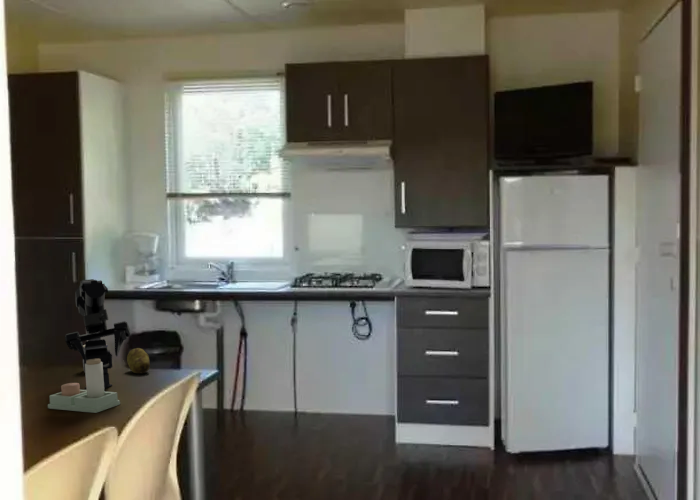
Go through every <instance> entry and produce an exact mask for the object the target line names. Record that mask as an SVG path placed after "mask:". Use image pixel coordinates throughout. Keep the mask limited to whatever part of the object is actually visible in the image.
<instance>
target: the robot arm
mask: <svg viewBox="0 0 700 500" xmlns="http://www.w3.org/2000/svg"><path fill="white" fill-rule="evenodd" d="M74 292H75V306H76V308H77V309H78V314H80V315H81V316H82V317H83V323H84V326H85V330H86V334H85V333H84V334H80V333H79V331H74V332H70V333H69V332H68V333H66V334H65V336H64V339H65V340H64V341H65V343H66V346H67V347H68V349H69V350H73V351H74V352H76V351H78V353H79V354H80V356H81V357H82V367H83V368H82V369H83V372H84V373H85V363H86V360H89V359H101V362H102V363H103V377H104V389H106V388H109V387H112V386H113V384H112V383H110V374H109V371H108V369H109V370H110V369H112V368H113V354H112V353H111V351H110V350H109V349H108V346H107V345H108V343H106V342H107V341H106V340H105V339H104V337H109V336H113V337H114V354H115V357H118V356H119V353H120V350H121V347H122V345H123V343H124V341H126V340H127V339H128V338H129V337H130V336H131V335H132V334H131V329H130V327H129V324H128V322H127V321H125V320H124V321H120V322H115V323H113V328H108V326H107V325H108V324H107V321H108V320H109V316H108V310H107V308H106V309H105V300H106V299H105V295H107V293H109V289H108V287H107V286H106V284H105V283H103V281H102V280H97V279H94V278H93V279H82V280H80V285H79V286H78V288H77V289H76V290H75V291H74ZM101 338H103V339H101ZM83 342H85V343H84V345H85V350H84V347H83ZM107 364H108V365H107ZM83 390H87V388H86V386H84V389H83Z"/></svg>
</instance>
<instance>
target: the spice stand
mask: <svg viewBox="0 0 700 500" xmlns="http://www.w3.org/2000/svg"><path fill="white" fill-rule="evenodd" d="M60 387H61V391H60V392H57V393H54V394H50V395H49V403H48V404H47V409H51V410H63V411H73V412H81V413H82V412H83V413H92V414H93V413H95V414H96V413H99V412H103V411H105V410H107V409H111V408H114V407H116V406H119V405H121V400H119V398H118V392H114V391H105V396H102V397H99V398H87V389H81V387H80V383H79V382H69V383H64V384H62V385H61V386H60Z"/></svg>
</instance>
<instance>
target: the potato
mask: <svg viewBox="0 0 700 500" xmlns="http://www.w3.org/2000/svg"><path fill="white" fill-rule="evenodd" d="M126 362H127V365H128V367H129V370H130V371H131V372H132V373H134V374H145V373H147V372H148V371H149V369H150V366H151V363H150V362H151V361H150V355H149V354H148V353H147V352H146V351H145V350H144V349H143V348H140V347H136V348H135V347H134V348H133V349H130V350H129V351H128V354H127V356H126Z"/></svg>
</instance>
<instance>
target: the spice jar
mask: <svg viewBox="0 0 700 500" xmlns="http://www.w3.org/2000/svg"><path fill="white" fill-rule="evenodd" d="M84 373H85V385H86V386H85V387H86V388H87V389H86V390H87V398H99V397H102V396H105V392H106V391H105V388H104V377H103V363H102V362H101V359H89V360H86V363H85V372H84Z"/></svg>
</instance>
